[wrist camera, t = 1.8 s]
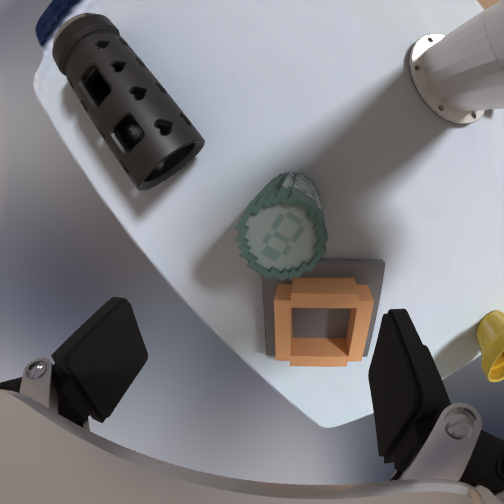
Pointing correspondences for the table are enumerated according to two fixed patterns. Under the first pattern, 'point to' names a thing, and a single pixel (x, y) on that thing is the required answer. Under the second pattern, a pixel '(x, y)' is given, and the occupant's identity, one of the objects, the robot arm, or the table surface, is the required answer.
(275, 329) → the socket block
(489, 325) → the plant pot
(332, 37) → the table surface
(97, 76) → the muzzle brake
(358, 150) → the table surface
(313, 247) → the can
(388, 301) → the table surface
